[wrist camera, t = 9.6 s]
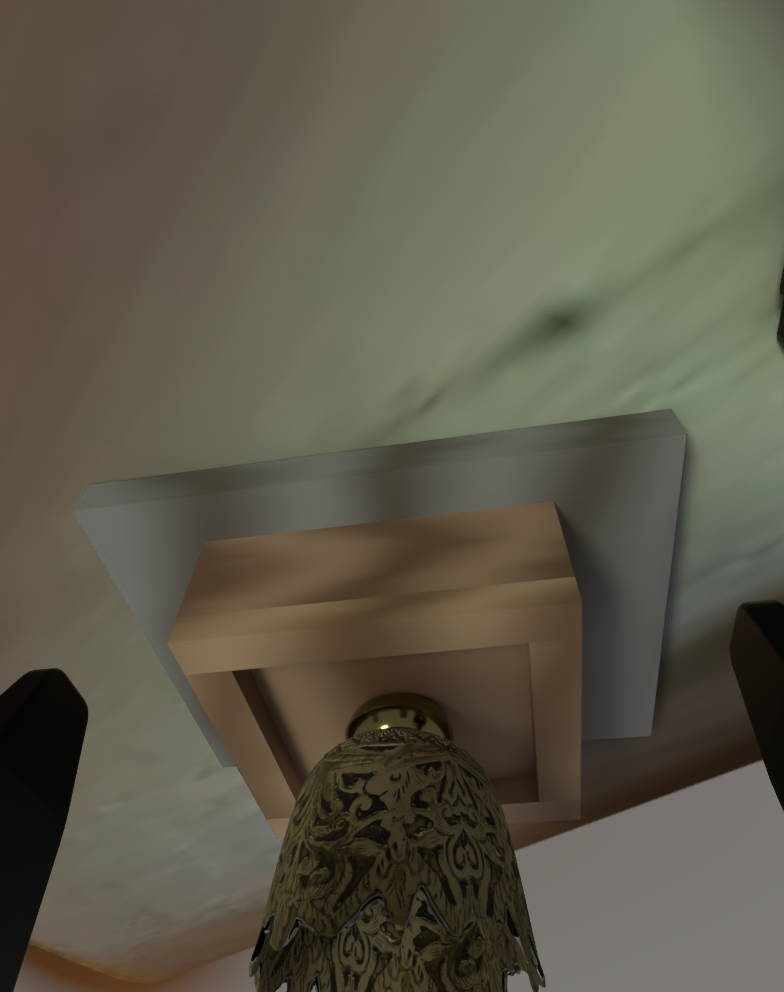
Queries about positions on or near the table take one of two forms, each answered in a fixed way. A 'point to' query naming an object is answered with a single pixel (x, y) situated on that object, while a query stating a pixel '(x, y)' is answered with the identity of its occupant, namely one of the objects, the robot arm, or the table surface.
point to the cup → (396, 868)
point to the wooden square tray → (411, 596)
